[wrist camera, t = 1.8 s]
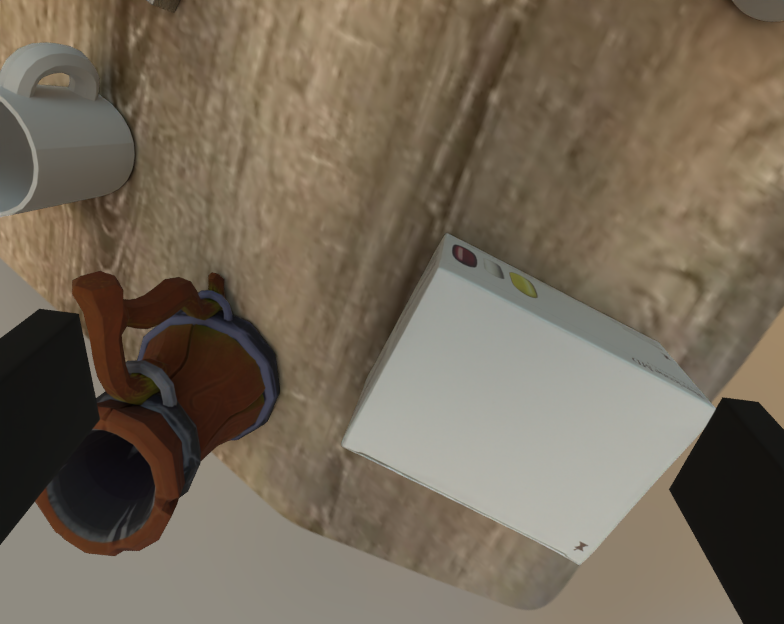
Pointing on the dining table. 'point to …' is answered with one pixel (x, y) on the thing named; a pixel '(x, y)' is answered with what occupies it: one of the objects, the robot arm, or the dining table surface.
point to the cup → (57, 132)
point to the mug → (156, 408)
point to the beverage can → (762, 9)
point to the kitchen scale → (165, 4)
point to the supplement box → (523, 402)
